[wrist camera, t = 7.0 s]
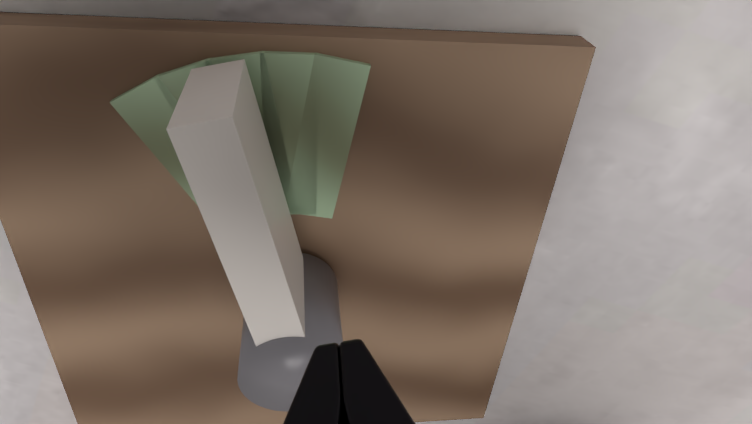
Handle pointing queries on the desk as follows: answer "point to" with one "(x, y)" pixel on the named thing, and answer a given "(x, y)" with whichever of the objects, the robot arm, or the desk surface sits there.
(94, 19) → the brown wooden board
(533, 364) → the desk surface
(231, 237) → the pointer
